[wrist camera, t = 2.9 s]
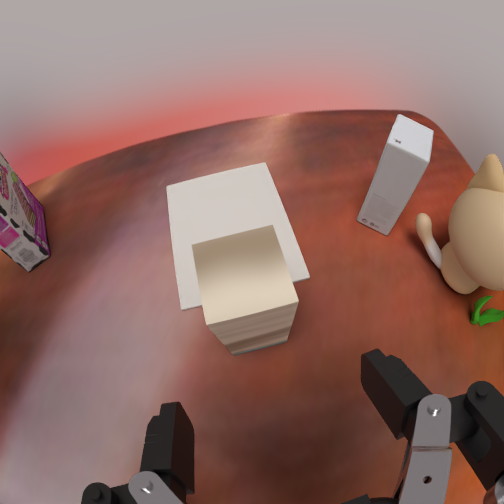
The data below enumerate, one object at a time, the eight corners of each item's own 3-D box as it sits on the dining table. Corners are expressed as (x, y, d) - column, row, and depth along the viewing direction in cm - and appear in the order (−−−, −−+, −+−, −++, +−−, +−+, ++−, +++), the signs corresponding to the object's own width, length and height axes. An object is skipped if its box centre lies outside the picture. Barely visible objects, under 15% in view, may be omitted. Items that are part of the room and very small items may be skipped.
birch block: (286, 341, 25) (298, 301, 15) (233, 355, 25) (206, 324, 15) (272, 293, 28) (272, 224, 17) (222, 306, 27) (191, 244, 17)
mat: (309, 278, 28) (310, 277, 28) (182, 310, 27) (181, 309, 27) (265, 164, 36) (265, 162, 36) (167, 188, 35) (166, 186, 35)
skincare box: (387, 237, 30) (429, 163, 19) (355, 221, 31) (385, 141, 21) (400, 202, 32) (435, 130, 22) (370, 187, 33) (397, 111, 23)
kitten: (504, 307, 24) (584, 250, 11) (460, 349, 23) (561, 300, 10) (448, 213, 31) (501, 130, 18) (398, 237, 30) (455, 140, 17)
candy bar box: (52, 255, 32) (-24, 180, 17) (29, 273, 31) (-49, 207, 16) (45, 205, 36) (-10, 134, 22) (24, 221, 35) (-33, 157, 21)
